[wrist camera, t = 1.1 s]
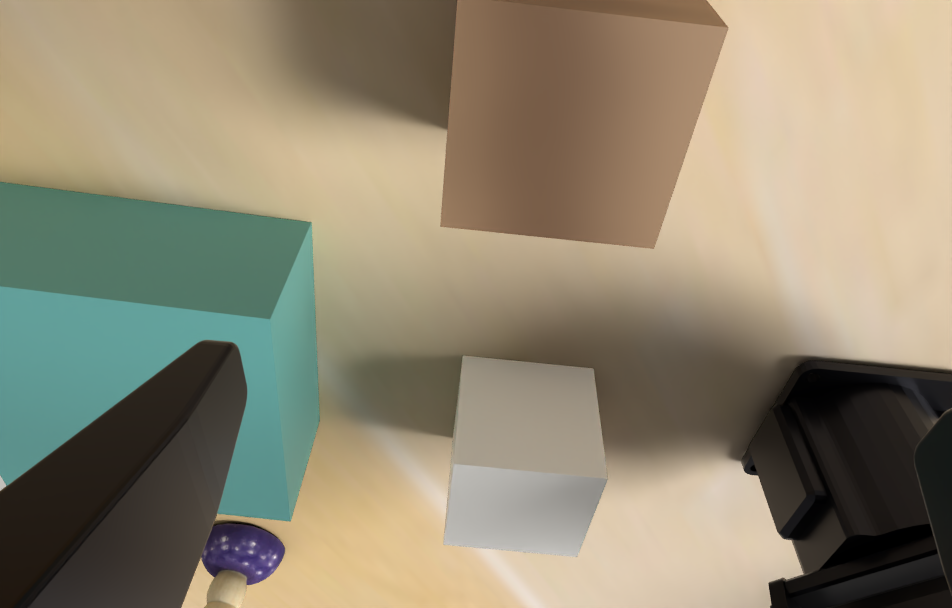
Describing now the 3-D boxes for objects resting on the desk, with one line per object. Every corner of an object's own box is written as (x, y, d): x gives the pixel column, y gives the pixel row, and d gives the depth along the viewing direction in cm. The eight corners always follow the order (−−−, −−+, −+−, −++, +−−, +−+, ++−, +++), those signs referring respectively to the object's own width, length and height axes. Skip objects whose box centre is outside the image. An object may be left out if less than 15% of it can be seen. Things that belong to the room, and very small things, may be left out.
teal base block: (313, 217, 21) (270, 319, 17) (321, 415, 28) (290, 521, 24) (-3, 176, 21) (-119, 271, 17) (80, 387, 27) (9, 491, 23)
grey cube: (593, 367, 25) (607, 478, 21) (568, 447, 28) (576, 556, 24) (463, 353, 25) (453, 464, 21) (452, 436, 28) (443, 544, 24)
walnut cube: (675, -39, 16) (728, 27, 12) (624, 149, 19) (653, 248, 15) (470, -64, 16) (457, -4, 12) (454, 130, 19) (440, 226, 15)
